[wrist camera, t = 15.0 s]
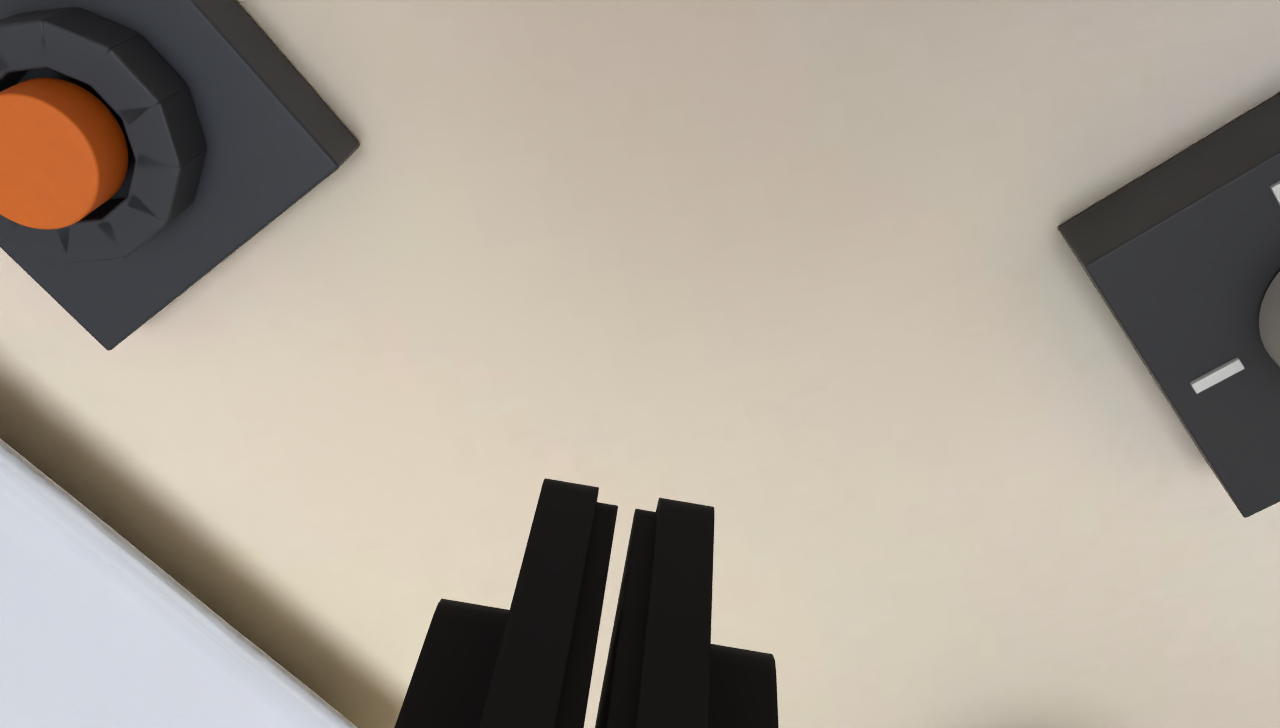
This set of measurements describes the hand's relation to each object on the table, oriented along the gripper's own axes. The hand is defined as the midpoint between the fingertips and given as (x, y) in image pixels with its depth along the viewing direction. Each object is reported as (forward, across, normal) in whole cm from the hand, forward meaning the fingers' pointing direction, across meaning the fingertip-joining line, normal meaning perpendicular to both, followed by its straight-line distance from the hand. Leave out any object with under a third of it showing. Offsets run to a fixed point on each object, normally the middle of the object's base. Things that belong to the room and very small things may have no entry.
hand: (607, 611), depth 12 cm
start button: (+20, +16, +5) cm, 26 cm away
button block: (+24, +16, +5) cm, 29 cm away
